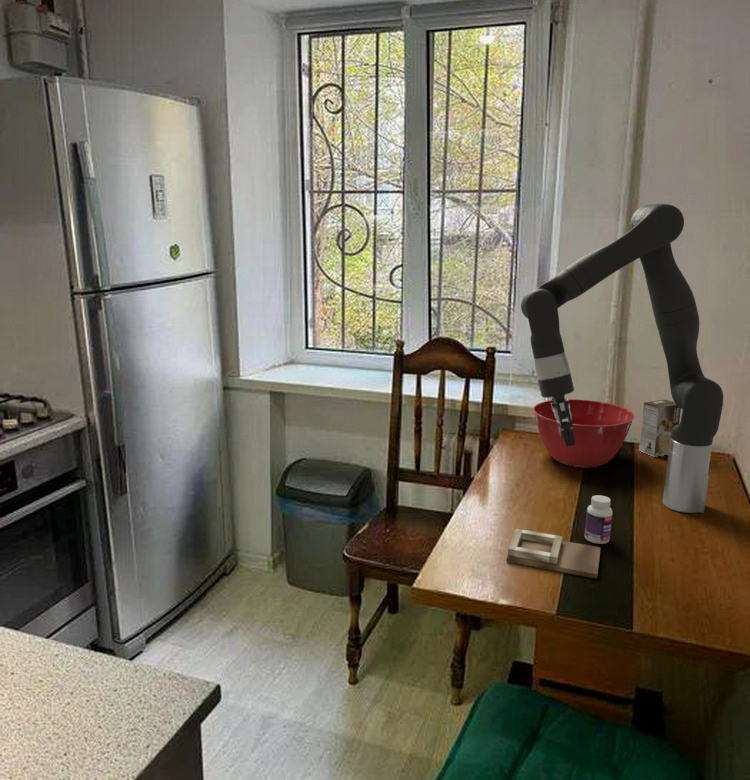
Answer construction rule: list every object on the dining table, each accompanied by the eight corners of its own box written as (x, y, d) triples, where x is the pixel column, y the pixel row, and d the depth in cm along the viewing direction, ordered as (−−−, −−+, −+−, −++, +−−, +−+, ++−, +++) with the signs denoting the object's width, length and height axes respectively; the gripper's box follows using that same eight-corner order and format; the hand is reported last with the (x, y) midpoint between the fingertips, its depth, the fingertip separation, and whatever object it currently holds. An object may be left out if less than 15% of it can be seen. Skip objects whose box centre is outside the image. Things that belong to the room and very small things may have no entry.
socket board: (600, 551, 142) (601, 541, 142) (597, 578, 132) (598, 567, 131) (516, 536, 149) (516, 526, 148) (506, 561, 138) (507, 550, 137)
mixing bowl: (514, 464, 194) (518, 413, 190) (549, 439, 216) (553, 393, 212) (613, 486, 178) (619, 431, 174) (639, 456, 201) (645, 407, 197)
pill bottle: (606, 546, 145) (610, 505, 142) (581, 540, 147) (585, 500, 145) (612, 537, 149) (616, 497, 147) (587, 531, 152) (591, 491, 149)
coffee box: (659, 448, 209) (665, 398, 205) (676, 454, 203) (682, 404, 199) (637, 451, 205) (643, 401, 201) (653, 458, 199) (660, 407, 195)
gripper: (573, 373, 146) (588, 444, 147) (567, 368, 159) (581, 433, 160) (538, 381, 147) (554, 451, 148) (536, 375, 161) (550, 439, 162)
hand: (568, 442), depth 154 cm, fingers open, 8 cm apart
